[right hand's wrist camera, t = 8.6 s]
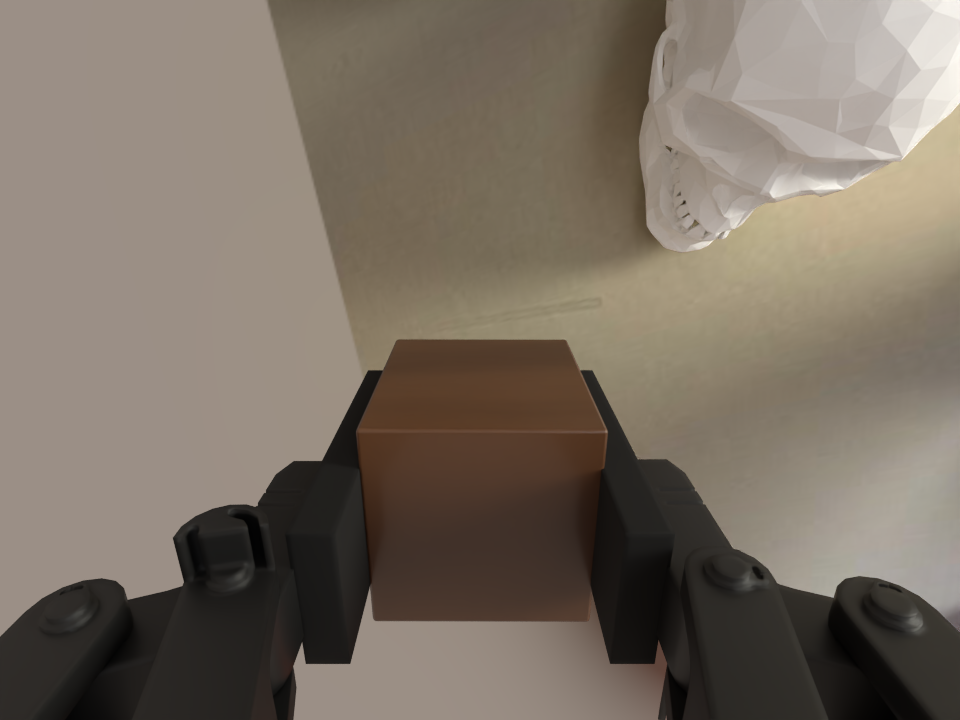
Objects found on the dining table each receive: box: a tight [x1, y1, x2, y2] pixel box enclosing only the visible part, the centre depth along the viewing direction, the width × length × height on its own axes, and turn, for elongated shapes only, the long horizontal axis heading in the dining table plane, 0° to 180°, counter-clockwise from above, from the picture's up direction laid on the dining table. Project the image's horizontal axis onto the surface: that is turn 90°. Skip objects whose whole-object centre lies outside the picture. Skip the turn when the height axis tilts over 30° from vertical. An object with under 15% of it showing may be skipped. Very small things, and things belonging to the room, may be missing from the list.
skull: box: [639, 0, 960, 252], centre depth 27 cm, size 13×22×16 cm, turn 167°
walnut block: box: [356, 340, 608, 621], centre depth 13 cm, size 4×4×5 cm
